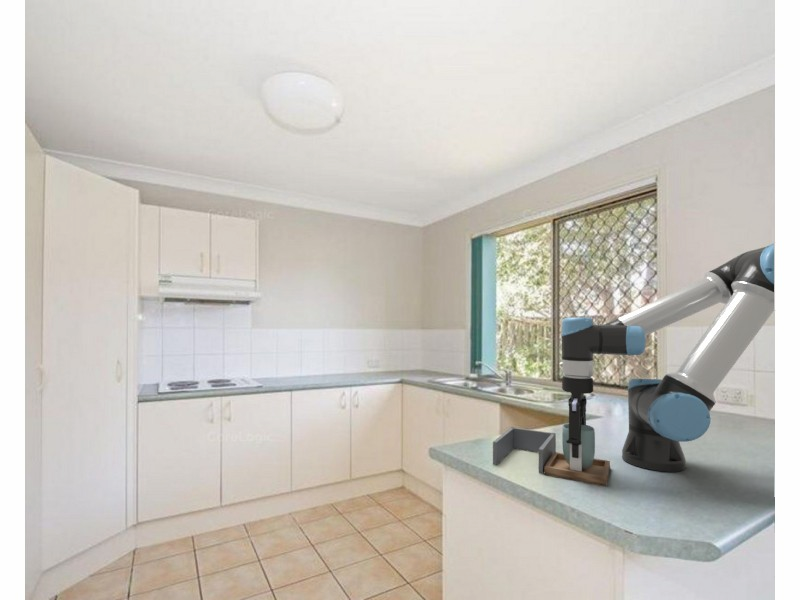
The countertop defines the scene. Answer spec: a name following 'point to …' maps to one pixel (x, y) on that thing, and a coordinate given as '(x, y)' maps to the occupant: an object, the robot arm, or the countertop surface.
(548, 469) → the tray
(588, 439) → the cup
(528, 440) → the bay
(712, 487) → the countertop surface
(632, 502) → the countertop surface
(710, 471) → the countertop surface
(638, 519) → the countertop surface
